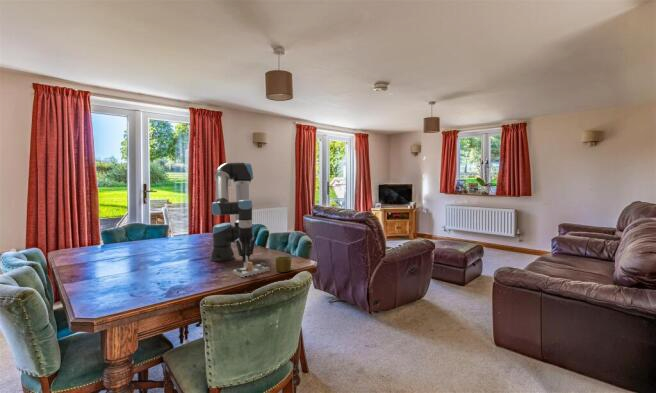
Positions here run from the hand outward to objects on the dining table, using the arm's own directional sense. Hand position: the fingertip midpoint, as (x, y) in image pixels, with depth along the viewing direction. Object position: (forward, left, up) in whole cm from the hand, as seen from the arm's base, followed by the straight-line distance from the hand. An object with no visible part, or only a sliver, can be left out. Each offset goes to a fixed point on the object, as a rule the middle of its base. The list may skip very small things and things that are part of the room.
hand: (246, 267), depth 185 cm
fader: (0, +2, -1) cm, 2 cm away
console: (0, +4, -4) cm, 5 cm away
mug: (+9, +21, -4) cm, 23 cm away
